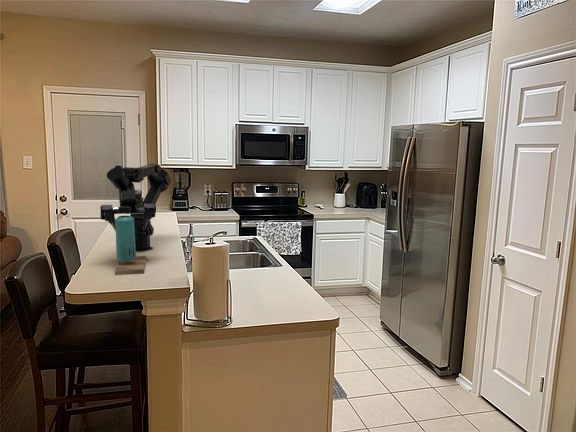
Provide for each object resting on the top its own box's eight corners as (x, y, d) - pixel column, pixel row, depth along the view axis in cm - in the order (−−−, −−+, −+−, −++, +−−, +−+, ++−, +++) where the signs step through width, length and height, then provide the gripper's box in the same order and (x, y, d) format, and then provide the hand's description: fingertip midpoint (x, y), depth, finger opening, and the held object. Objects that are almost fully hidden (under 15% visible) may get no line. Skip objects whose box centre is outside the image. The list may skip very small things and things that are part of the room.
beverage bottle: (129, 266, 144) (127, 208, 141) (112, 264, 146) (109, 207, 142) (140, 261, 151) (138, 205, 147) (123, 259, 152) (121, 204, 149)
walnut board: (120, 260, 156) (120, 257, 155) (146, 259, 158) (146, 256, 158) (114, 274, 139) (114, 271, 138) (143, 273, 141) (143, 269, 141)
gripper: (99, 182, 147) (101, 218, 139) (154, 181, 155) (159, 216, 147) (99, 201, 155) (101, 237, 147) (152, 200, 163) (157, 233, 155)
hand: (130, 230), depth 149 cm, fingers open, 9 cm apart
